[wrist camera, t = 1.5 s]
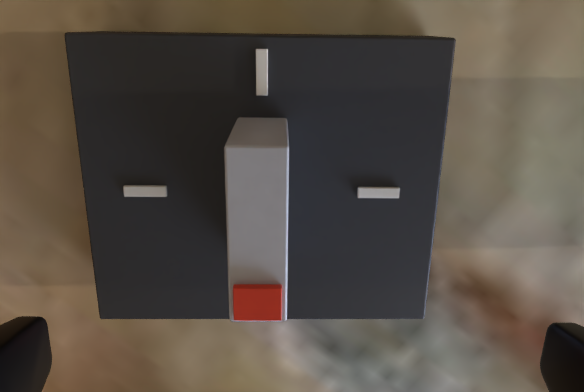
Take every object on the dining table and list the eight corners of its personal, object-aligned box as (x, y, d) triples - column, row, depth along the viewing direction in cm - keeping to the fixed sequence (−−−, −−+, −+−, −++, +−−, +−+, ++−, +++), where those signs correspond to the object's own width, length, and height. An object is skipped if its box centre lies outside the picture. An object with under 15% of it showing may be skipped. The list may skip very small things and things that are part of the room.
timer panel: (123, 280, 21) (97, 322, 18) (97, 31, 18) (60, 32, 15) (406, 281, 22) (426, 322, 19) (429, 35, 18) (458, 37, 15)
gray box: (237, 117, 16) (222, 147, 12) (287, 117, 16) (289, 148, 12) (240, 258, 18) (228, 327, 14) (285, 259, 18) (287, 327, 14)
